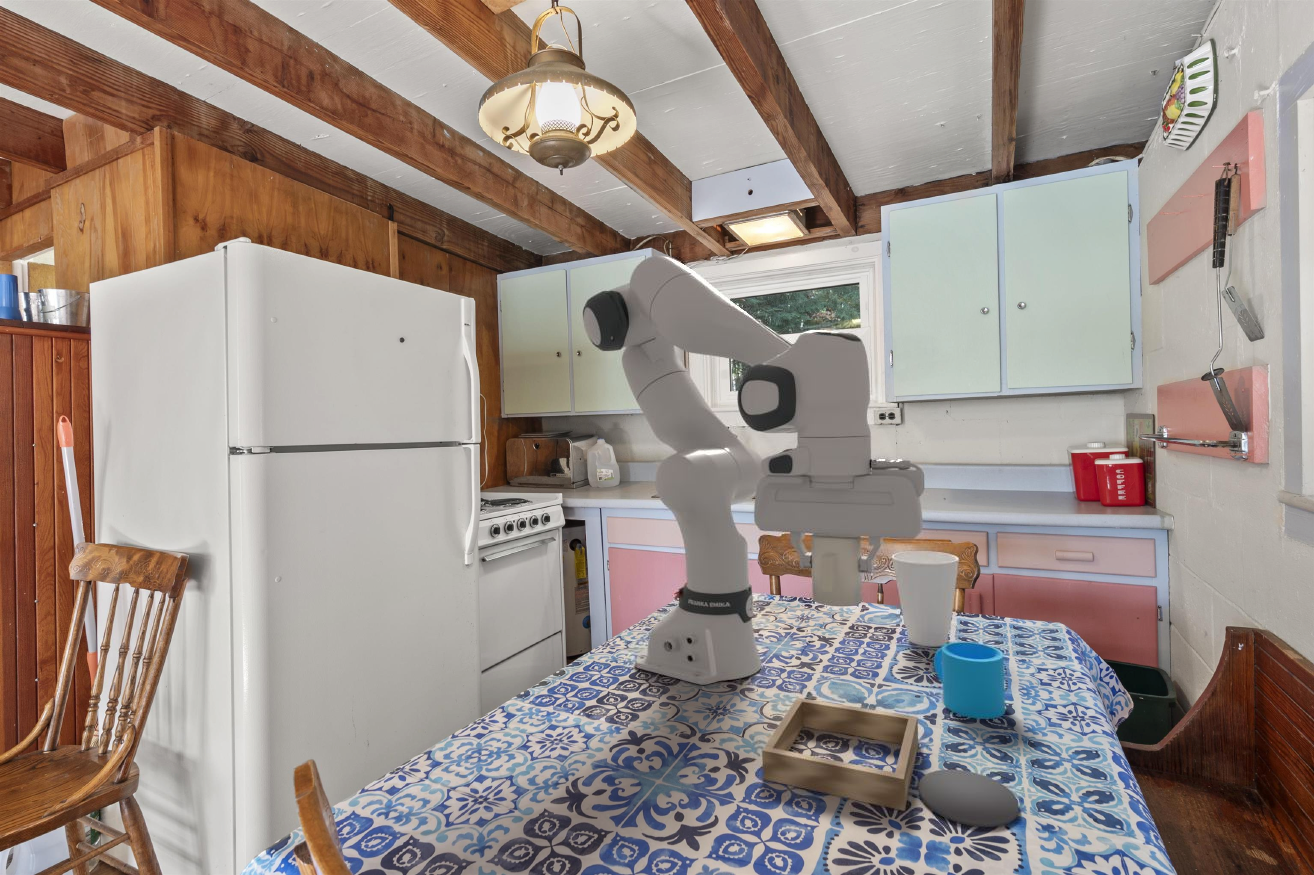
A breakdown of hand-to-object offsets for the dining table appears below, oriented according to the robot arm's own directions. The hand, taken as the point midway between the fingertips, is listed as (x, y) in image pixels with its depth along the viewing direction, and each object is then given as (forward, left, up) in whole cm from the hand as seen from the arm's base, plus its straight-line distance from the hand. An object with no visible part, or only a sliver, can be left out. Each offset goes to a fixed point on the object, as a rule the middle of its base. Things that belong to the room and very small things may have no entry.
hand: (836, 569), depth 80 cm
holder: (0, 0, -24) cm, 24 cm away
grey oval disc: (+14, -3, -24) cm, 28 cm away
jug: (0, -1, -4) cm, 4 cm away
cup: (+6, +50, -24) cm, 56 cm away
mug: (+13, +24, -24) cm, 37 cm away
